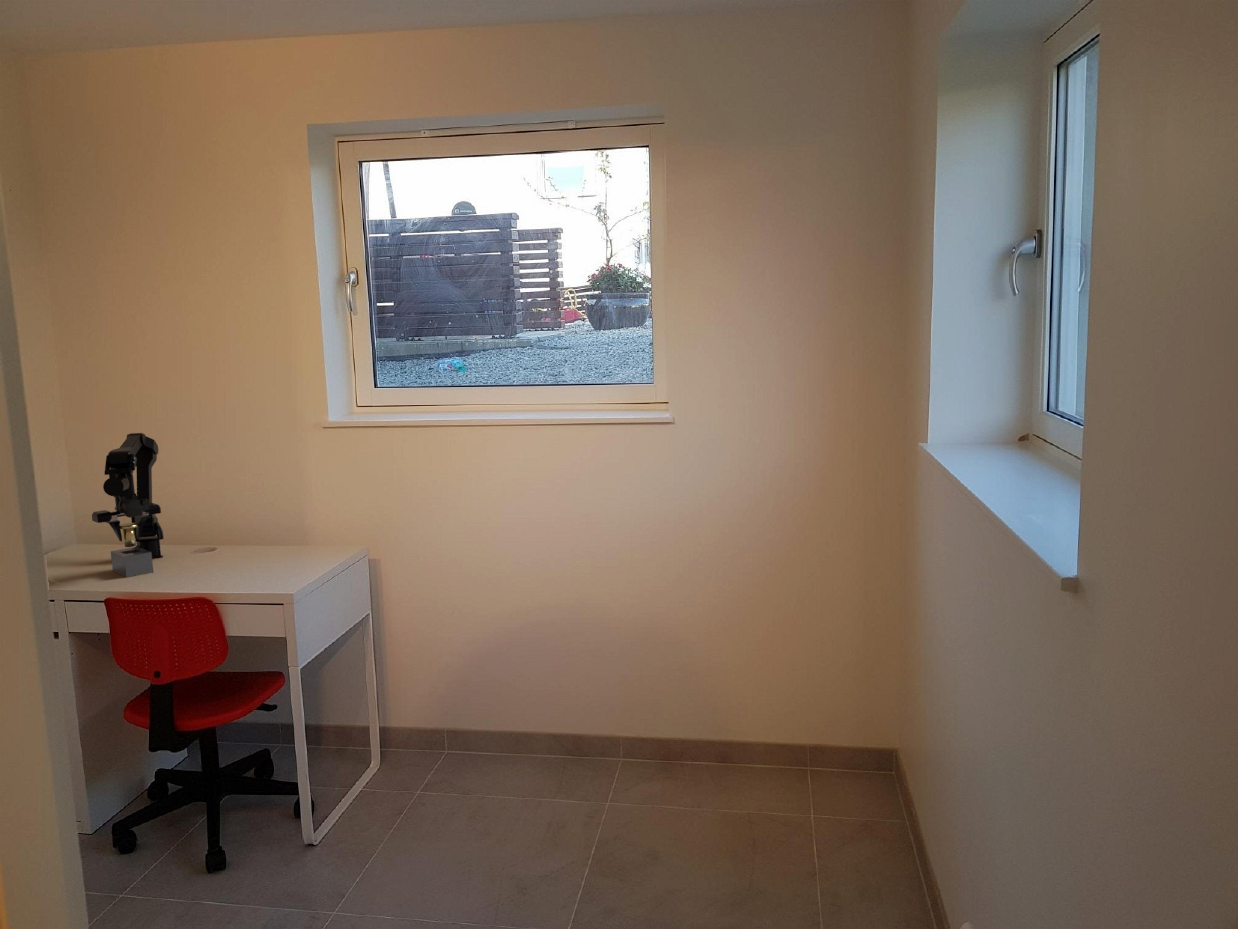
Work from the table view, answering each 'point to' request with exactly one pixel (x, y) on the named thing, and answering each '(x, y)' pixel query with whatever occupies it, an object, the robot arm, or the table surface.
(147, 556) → the jig
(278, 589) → the table surface
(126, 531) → the bushing
